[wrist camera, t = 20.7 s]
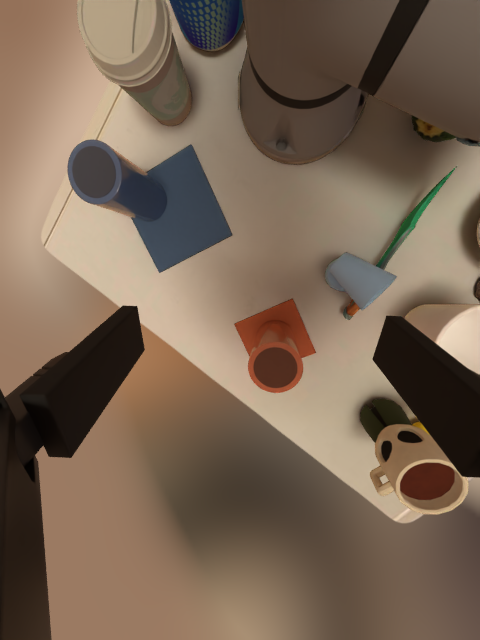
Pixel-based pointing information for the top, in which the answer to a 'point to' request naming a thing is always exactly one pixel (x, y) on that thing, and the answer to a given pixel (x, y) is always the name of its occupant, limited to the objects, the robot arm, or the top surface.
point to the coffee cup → (138, 53)
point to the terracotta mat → (283, 313)
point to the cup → (451, 329)
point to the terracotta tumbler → (275, 358)
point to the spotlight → (358, 279)
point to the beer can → (209, 21)
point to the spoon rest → (478, 232)
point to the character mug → (411, 462)
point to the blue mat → (183, 212)
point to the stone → (478, 290)
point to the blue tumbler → (114, 182)
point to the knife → (400, 238)
